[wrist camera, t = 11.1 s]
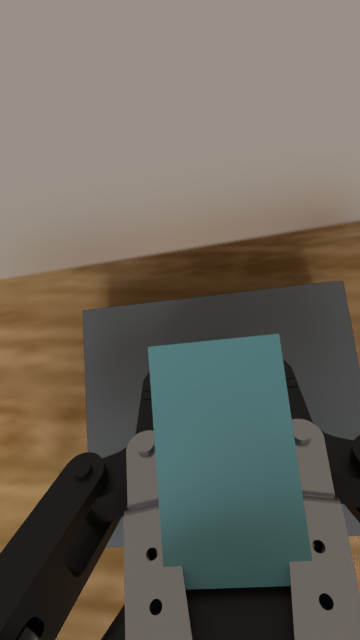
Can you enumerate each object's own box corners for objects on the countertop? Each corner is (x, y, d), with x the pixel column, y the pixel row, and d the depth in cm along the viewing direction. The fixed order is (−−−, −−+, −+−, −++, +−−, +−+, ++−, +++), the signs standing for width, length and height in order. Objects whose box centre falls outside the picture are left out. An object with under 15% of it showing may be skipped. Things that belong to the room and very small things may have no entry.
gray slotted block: (317, 300, 22) (343, 280, 17) (351, 499, 20) (390, 534, 15) (108, 323, 23) (82, 310, 19) (118, 512, 21) (91, 547, 16)
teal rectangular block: (240, 362, 19) (278, 333, 8) (252, 454, 18) (315, 584, 7) (189, 367, 20) (147, 347, 8) (197, 458, 19) (164, 589, 7)
